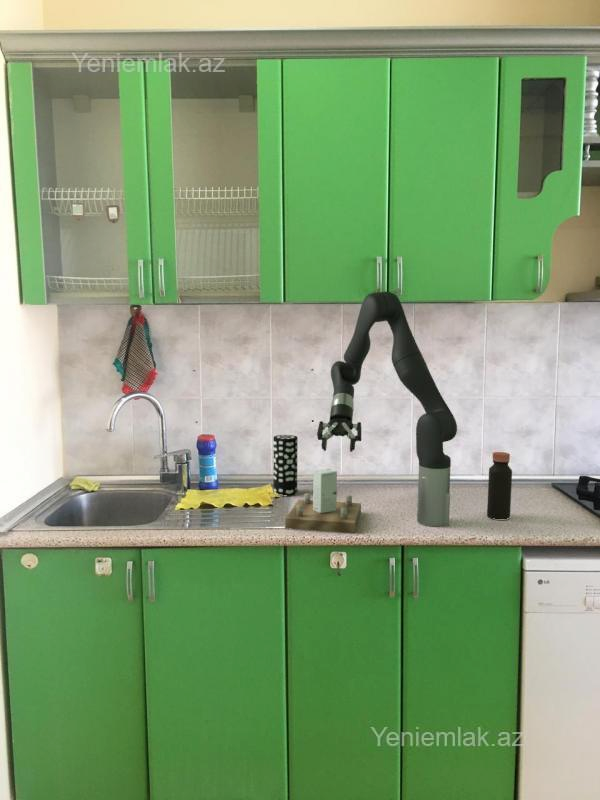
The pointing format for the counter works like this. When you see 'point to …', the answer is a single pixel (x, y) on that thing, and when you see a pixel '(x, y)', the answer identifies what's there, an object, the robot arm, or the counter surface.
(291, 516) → the walnut plinth
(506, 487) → the bottle
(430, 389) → the robot arm
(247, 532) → the counter surface
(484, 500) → the counter surface
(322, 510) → the skincare box
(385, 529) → the counter surface
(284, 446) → the spotted tube
